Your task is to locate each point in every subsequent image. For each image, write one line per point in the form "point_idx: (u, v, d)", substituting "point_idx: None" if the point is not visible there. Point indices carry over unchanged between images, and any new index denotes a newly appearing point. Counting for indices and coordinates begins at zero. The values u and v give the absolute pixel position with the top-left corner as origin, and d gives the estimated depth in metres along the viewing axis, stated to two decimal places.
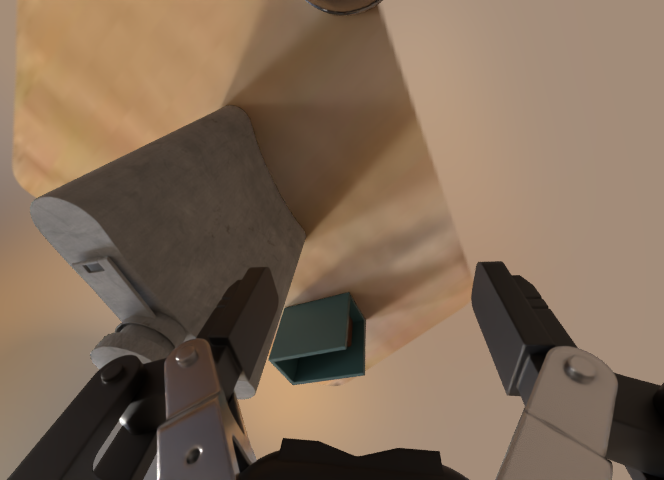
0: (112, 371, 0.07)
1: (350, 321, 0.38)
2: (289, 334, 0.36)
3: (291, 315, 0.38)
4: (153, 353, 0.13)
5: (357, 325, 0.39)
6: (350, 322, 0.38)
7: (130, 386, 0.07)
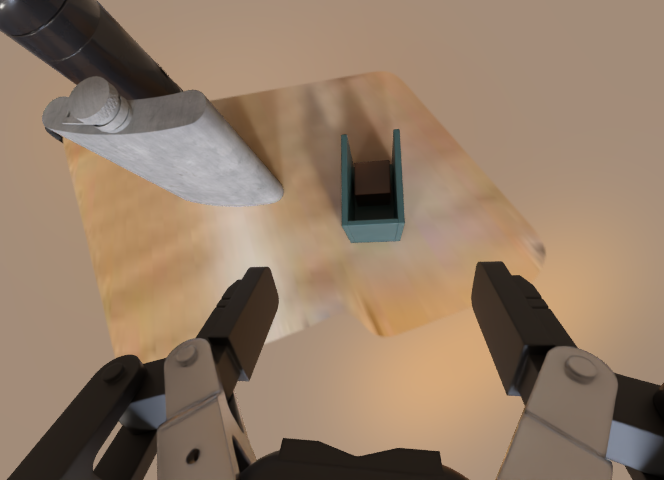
0: (112, 371, 0.07)
1: None
2: None
3: None
4: None
5: None
6: None
7: (130, 386, 0.07)
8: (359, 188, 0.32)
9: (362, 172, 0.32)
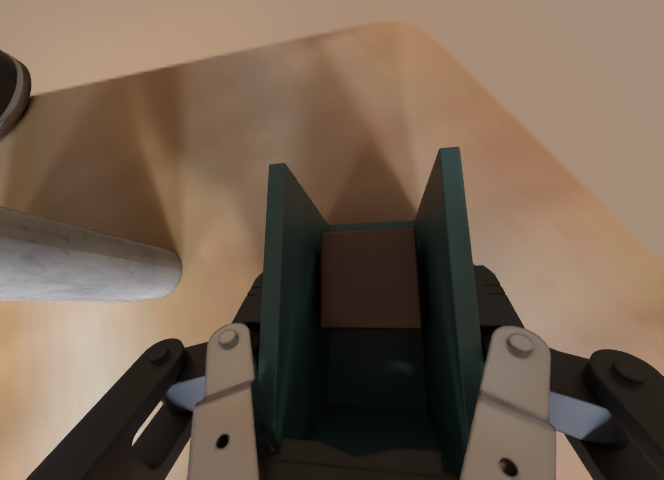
0: (158, 354, 0.08)
1: None
2: None
3: None
4: None
5: (416, 235, 0.15)
6: None
7: (176, 367, 0.08)
8: (332, 309, 0.11)
9: (342, 262, 0.12)
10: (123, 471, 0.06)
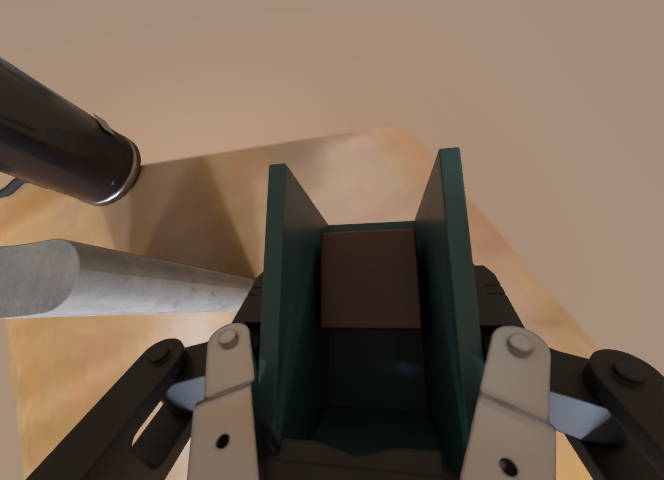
0: (158, 354, 0.08)
1: None
2: None
3: None
4: None
5: (416, 235, 0.15)
6: None
7: (176, 367, 0.08)
8: (333, 309, 0.11)
9: (342, 263, 0.12)
10: (123, 471, 0.06)
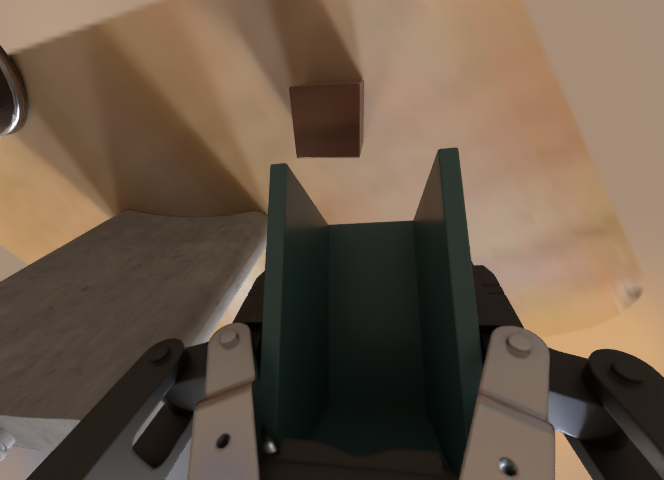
0: (159, 353, 0.08)
1: None
2: None
3: None
4: None
5: (415, 234, 0.15)
6: None
7: (177, 367, 0.08)
8: (301, 85, 0.16)
9: (314, 83, 0.18)
10: (123, 471, 0.06)
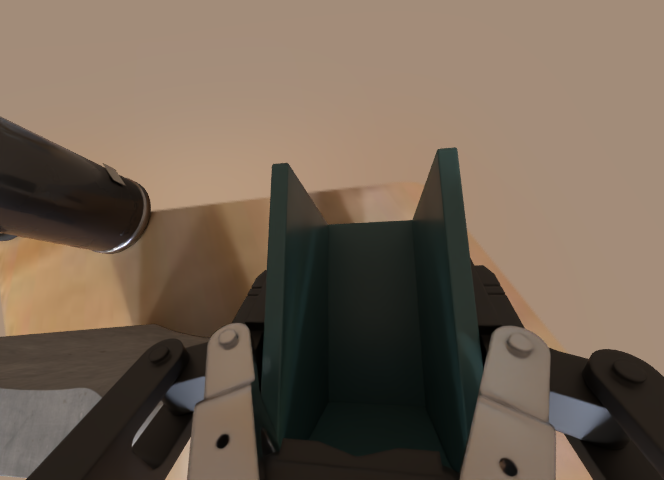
0: (158, 353, 0.08)
1: None
2: None
3: None
4: None
5: (414, 234, 0.15)
6: None
7: (176, 367, 0.08)
8: None
9: None
10: (123, 471, 0.06)
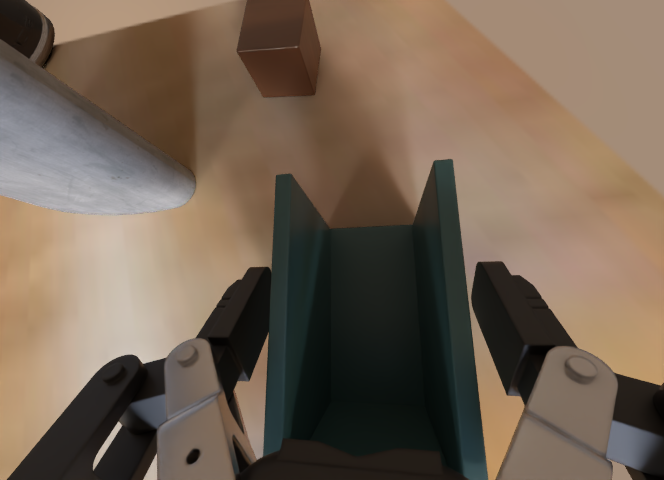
0: (112, 372, 0.07)
1: None
2: None
3: None
4: None
5: (414, 238, 0.16)
6: None
7: (130, 386, 0.07)
8: None
9: None
10: None
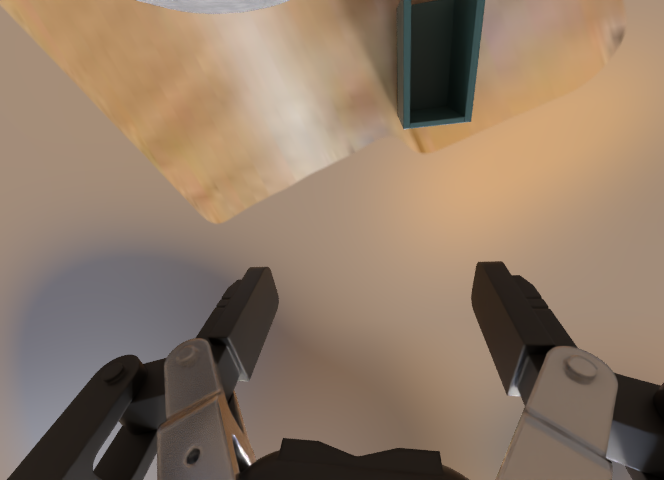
0: (112, 371, 0.07)
1: None
2: (400, 100, 0.28)
3: (398, 102, 0.31)
4: None
5: (455, 9, 0.27)
6: None
7: (130, 386, 0.07)
8: None
9: None
10: None
